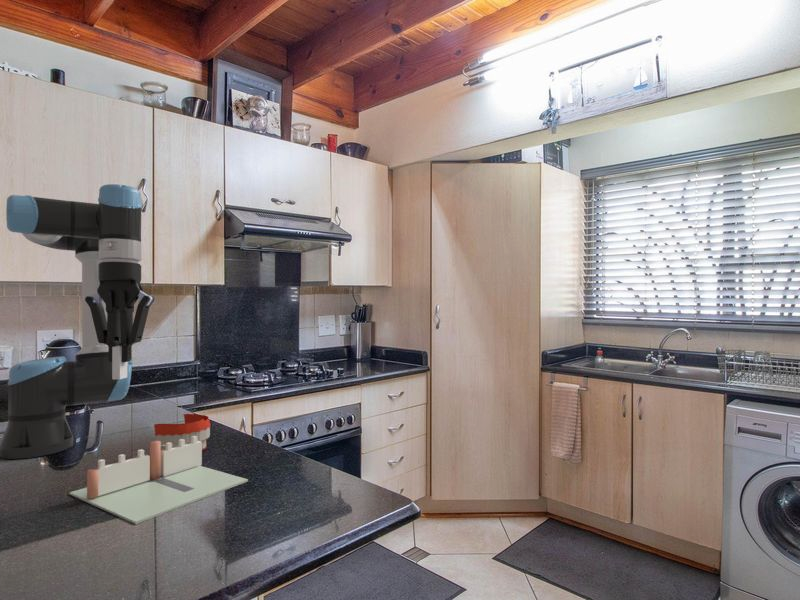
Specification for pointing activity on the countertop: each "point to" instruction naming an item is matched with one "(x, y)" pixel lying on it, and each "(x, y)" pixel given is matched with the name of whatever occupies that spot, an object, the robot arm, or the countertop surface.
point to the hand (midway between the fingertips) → (119, 378)
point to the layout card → (162, 493)
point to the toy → (184, 431)
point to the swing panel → (117, 474)
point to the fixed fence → (174, 457)
